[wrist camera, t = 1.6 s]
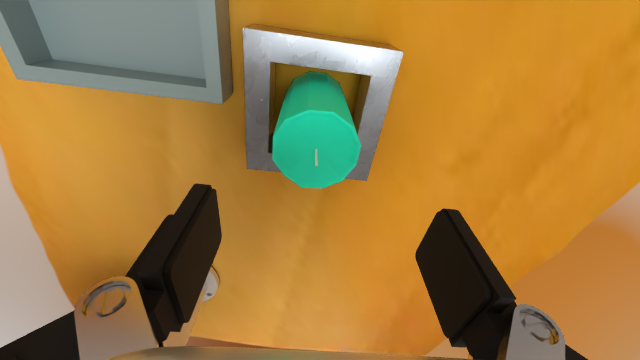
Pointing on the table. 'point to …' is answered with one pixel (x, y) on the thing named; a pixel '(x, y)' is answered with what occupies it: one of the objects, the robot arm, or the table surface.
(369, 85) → the holder
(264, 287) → the table surface
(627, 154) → the table surface
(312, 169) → the candle
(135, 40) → the tray
